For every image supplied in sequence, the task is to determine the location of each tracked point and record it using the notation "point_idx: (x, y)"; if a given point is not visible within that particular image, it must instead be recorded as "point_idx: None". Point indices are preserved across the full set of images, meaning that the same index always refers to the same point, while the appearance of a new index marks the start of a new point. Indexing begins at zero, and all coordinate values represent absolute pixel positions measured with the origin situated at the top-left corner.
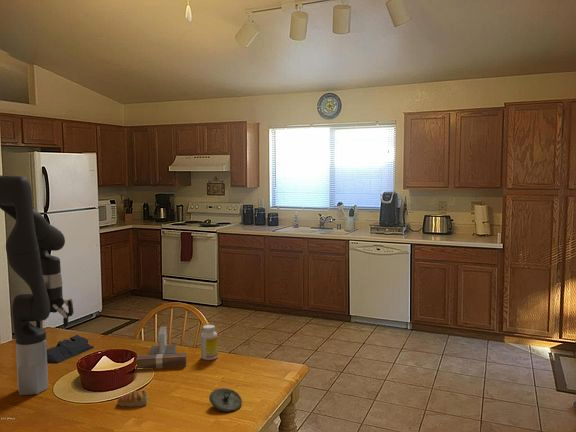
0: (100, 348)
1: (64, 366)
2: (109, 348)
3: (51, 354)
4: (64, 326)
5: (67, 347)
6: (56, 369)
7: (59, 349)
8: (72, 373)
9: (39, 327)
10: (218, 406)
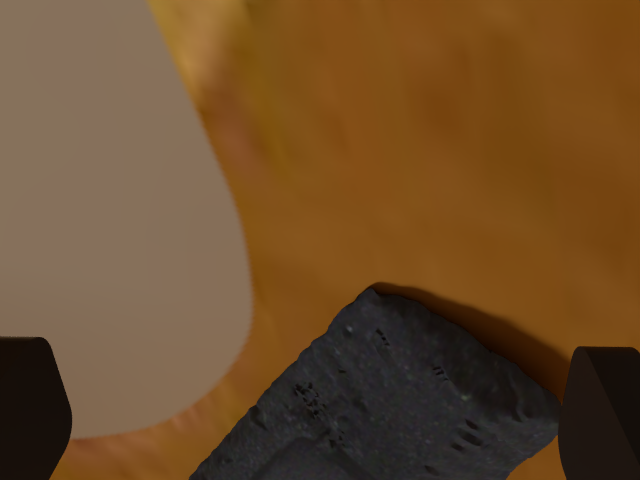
0: (138, 461)
1: (299, 210)
2: (76, 449)
3: (432, 381)
4: (2, 351)
5: (336, 471)
6: (350, 160)
7: (386, 447)
8: (178, 29)
9: (620, 377)
10: None
